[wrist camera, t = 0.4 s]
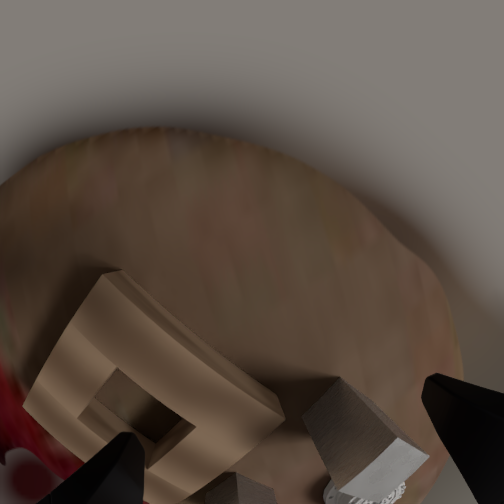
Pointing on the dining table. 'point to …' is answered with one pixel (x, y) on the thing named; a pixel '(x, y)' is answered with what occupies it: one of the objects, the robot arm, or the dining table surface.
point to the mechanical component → (337, 500)
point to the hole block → (150, 390)
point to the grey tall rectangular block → (361, 443)
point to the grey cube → (240, 492)
